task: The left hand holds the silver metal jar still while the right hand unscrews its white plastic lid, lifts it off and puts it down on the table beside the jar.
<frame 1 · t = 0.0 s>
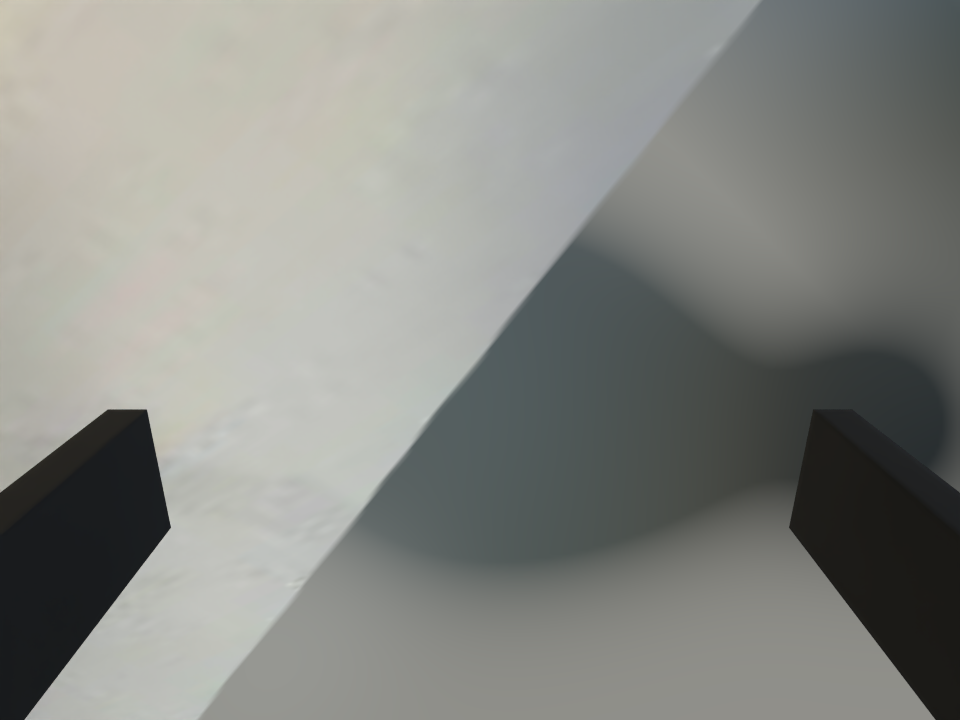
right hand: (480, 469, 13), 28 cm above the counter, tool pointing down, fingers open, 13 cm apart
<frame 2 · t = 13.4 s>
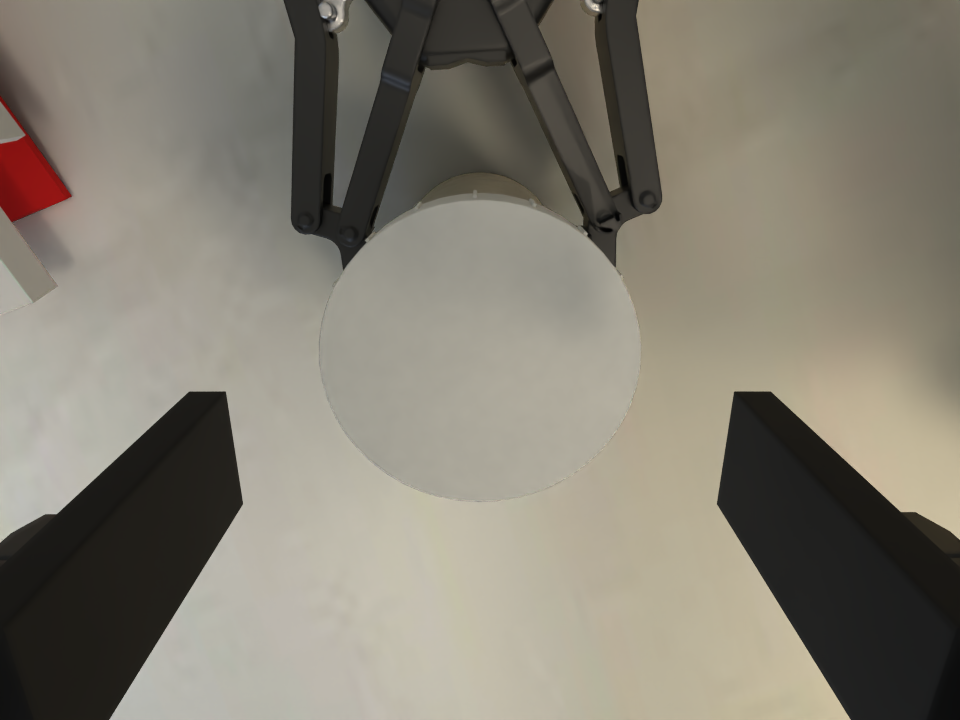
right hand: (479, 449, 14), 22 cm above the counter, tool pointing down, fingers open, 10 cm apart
lid: (480, 360, 19), point 17 cm above the counter, screwed on, not yet turned
jar: (480, 250, 34), on the counter, touching left hand
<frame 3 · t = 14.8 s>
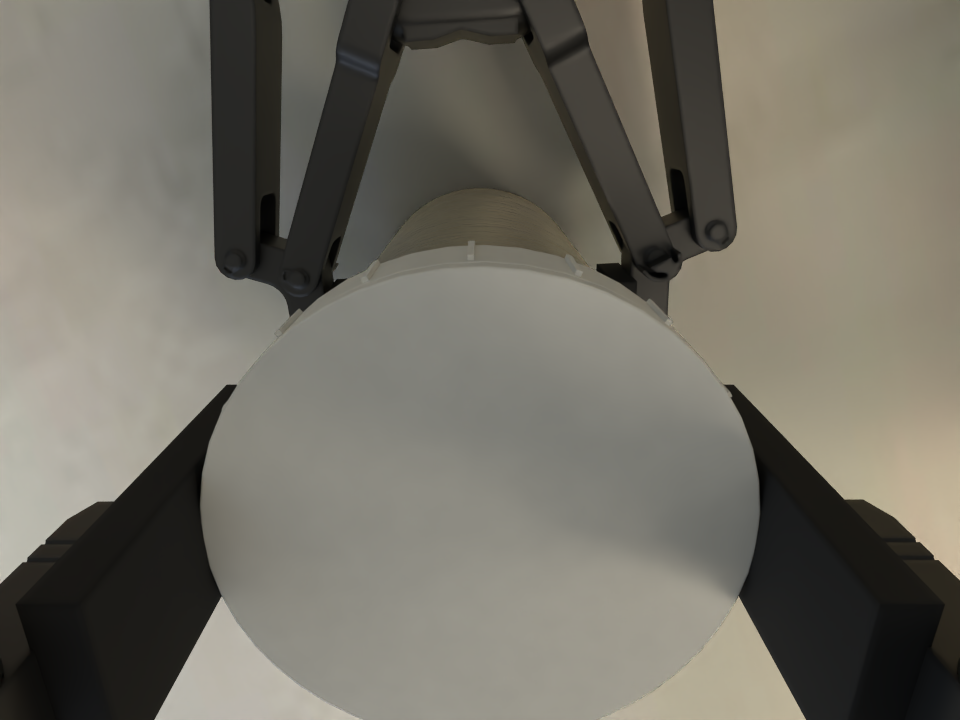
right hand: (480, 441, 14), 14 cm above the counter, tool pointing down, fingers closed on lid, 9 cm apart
lid: (480, 528, 11), point 17 cm above the counter, screwed on, not yet turned, touching right hand
jar: (480, 288, 27), on the counter, touching left hand
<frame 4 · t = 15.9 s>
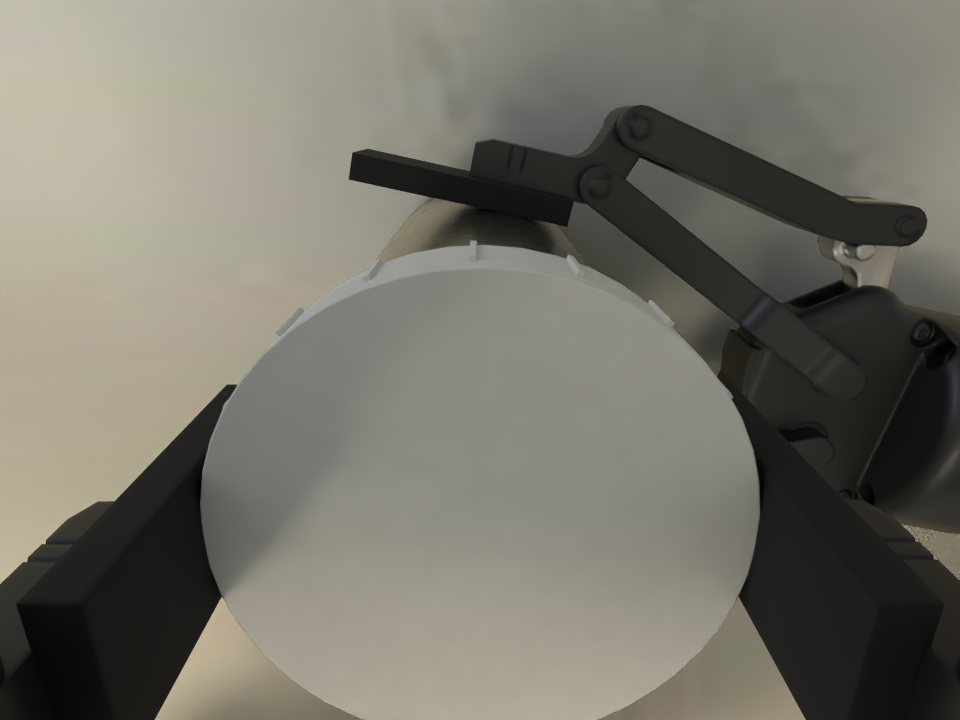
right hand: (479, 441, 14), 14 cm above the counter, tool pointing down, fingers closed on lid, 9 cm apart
left hand: (340, 301, 21), fingers closed on jar, 8 cm apart
lid: (480, 528, 11), point 17 cm above the counter, off its thread, touching right hand
jar: (479, 286, 27), on the counter, touching left hand
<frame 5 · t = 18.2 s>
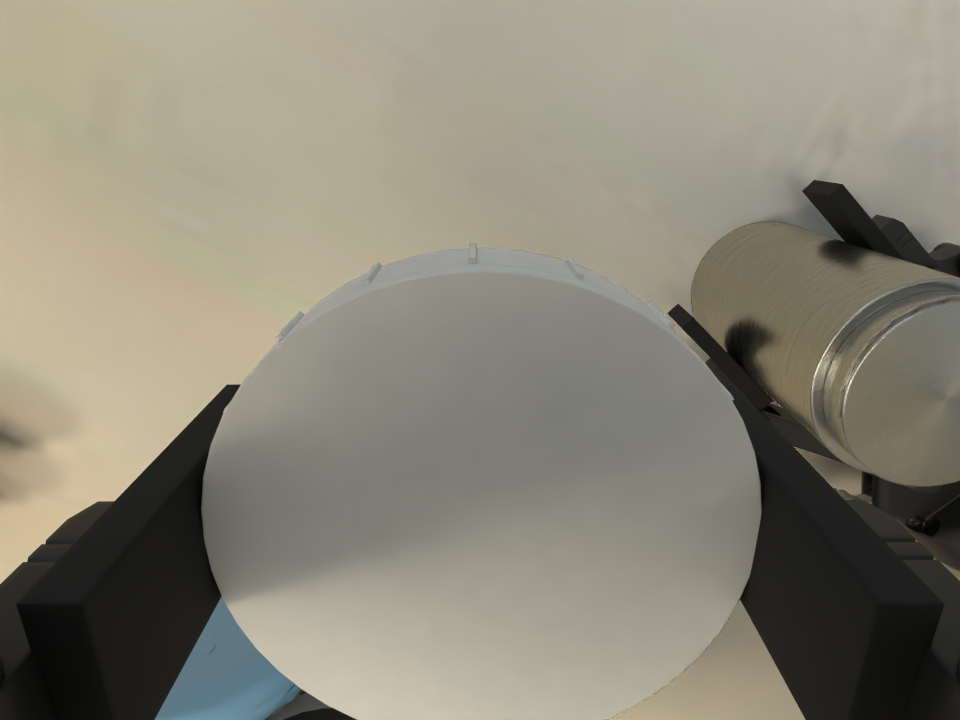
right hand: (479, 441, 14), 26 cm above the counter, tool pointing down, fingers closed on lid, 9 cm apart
lid: (481, 531, 11), point 29 cm above the counter, off its thread, touching right hand
jar: (758, 289, 39), on the counter, touching left hand
when the right hand's fingers open (0 cm above the counter, at t = 22.1 s): lid drops 2 cm, point 1 cm above the counter.
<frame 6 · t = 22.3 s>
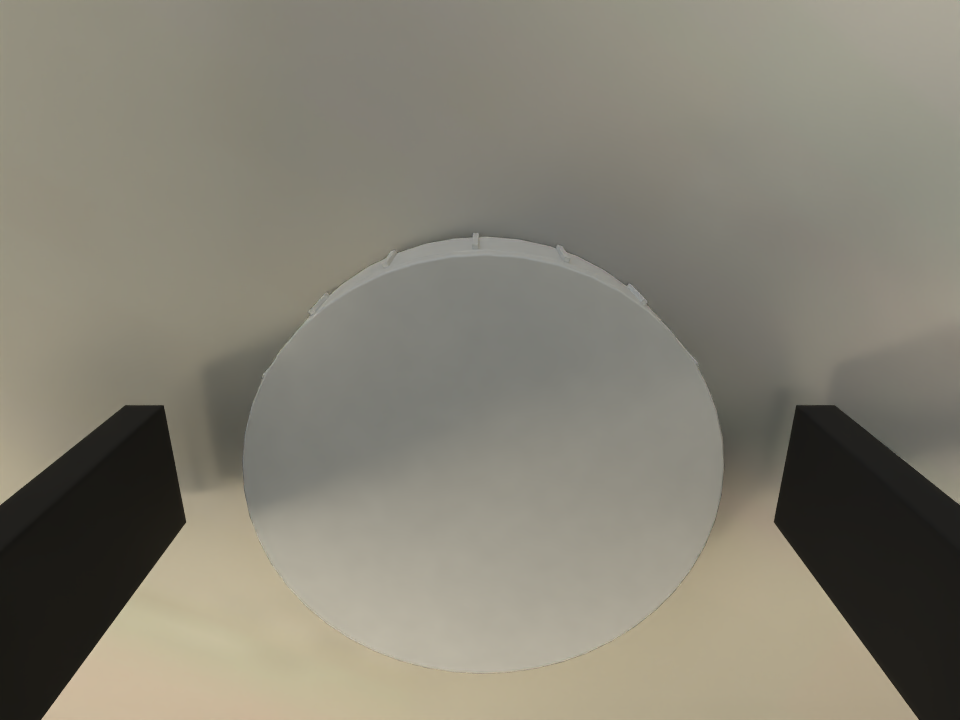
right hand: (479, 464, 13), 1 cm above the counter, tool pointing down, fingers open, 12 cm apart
lid: (483, 482, 13), point 1 cm above the counter, off its thread
when the left hand's fingers open (6 cm above the counter, at t = 23.1 s): jar stays where it is, on the counter.
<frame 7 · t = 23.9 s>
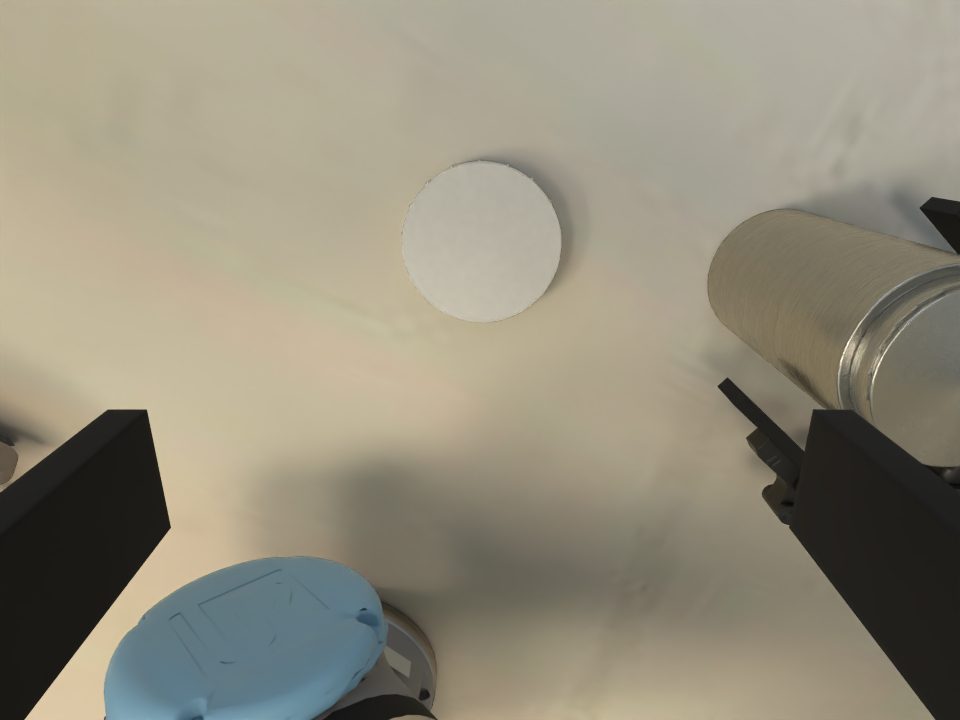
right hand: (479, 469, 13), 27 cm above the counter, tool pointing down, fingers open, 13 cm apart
lid: (481, 245, 37), point 1 cm above the counter, off its thread
jar: (774, 276, 39), on the counter
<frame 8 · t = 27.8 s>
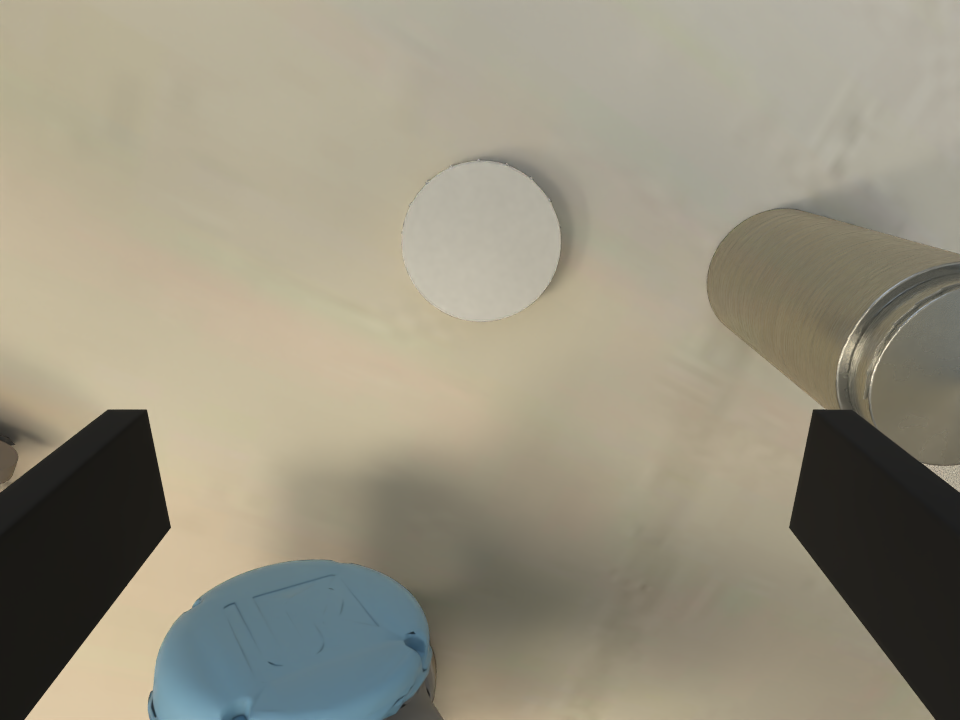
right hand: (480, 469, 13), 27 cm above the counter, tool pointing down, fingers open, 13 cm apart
lid: (481, 244, 37), point 1 cm above the counter, off its thread
jar: (773, 276, 39), on the counter
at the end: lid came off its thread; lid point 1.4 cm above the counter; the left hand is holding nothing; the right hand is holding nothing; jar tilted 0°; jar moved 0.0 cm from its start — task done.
